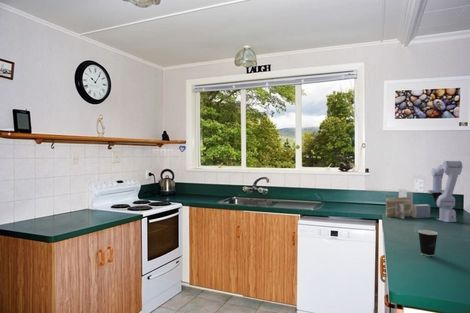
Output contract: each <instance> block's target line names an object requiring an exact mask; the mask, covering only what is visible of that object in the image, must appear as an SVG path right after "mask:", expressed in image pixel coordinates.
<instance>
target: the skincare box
mask: <svg viewBox="0 0 470 313" xmlns="http://www.w3.org/2000/svg"><path fill="white" fill-rule="evenodd" d="M401 197H410V198H411V212H412V205H414V191H410V190H407V189H401V188H400V189H398V198H401Z"/></svg>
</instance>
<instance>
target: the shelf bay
mask: <svg viewBox="0 0 470 313" xmlns="http://www.w3.org/2000/svg"><path fill="white" fill-rule="evenodd" d="M391 217H392V218H394V217H395V218H399V219H401V220H402V219H403V220H405V217H412V211H411V198H410V197H401V198H399V197H386V198H385V218H391Z"/></svg>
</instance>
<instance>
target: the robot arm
mask: <svg viewBox="0 0 470 313" xmlns="http://www.w3.org/2000/svg"><path fill="white" fill-rule="evenodd" d="M462 170H463V163H462V161H461V160H443V162H442V164H440V165H438V166H437V167H436V168H435V167H434V168H432V169H431V176H432V189H429V190H427V194H431V195H432V198H433V200H434V203H436V206H437V207H438V208H439V209H438V210H439V211H438V212H439V218H436V220H438V221H442V222H445V223H454V222H456V223H457V217H456V216H457V212H456V210H455V209H453V208H454V207H455V206H456V198H455V196H453V194H454V190H455V187H456V183H457V180H458V177H459V176H460V175H461V173H462ZM444 174H445V175H447V176H448V177H447V179H446V183H445V187H444V189H442V188H443V186H442V184H443V176H444Z"/></svg>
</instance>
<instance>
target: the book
mask: <svg viewBox="0 0 470 313" xmlns="http://www.w3.org/2000/svg"><path fill="white" fill-rule="evenodd" d="M411 218H416V219H419V218H431V205H430V204H413V205H412V211H411Z"/></svg>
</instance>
